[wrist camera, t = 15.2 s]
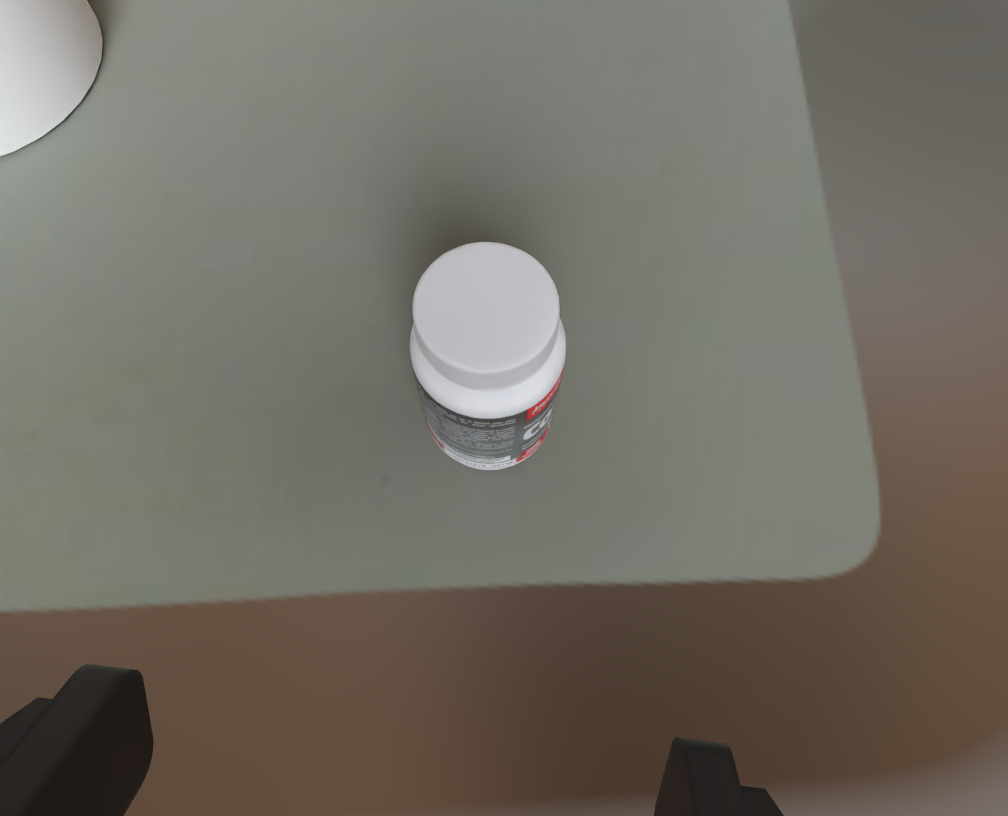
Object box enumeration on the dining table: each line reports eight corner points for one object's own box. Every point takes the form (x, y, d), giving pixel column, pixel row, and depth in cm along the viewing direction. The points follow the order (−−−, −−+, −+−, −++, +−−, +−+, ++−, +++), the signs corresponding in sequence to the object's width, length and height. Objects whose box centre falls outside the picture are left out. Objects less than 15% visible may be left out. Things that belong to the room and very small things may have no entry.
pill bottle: (544, 480, 26) (566, 398, 18) (416, 463, 26) (384, 375, 18) (558, 362, 28) (584, 240, 20) (438, 347, 28) (416, 220, 20)
